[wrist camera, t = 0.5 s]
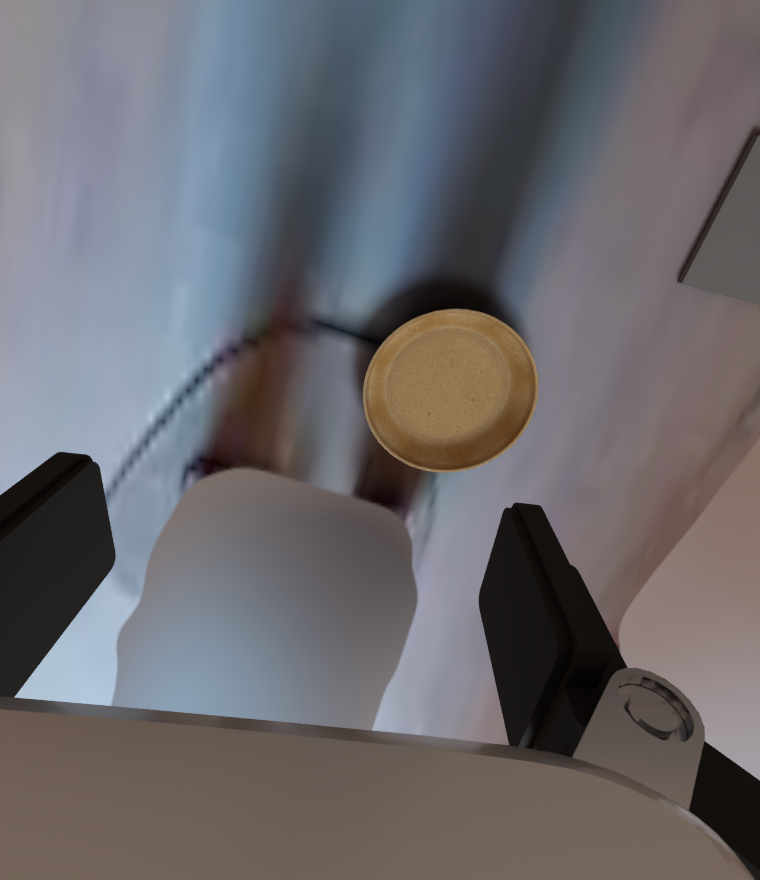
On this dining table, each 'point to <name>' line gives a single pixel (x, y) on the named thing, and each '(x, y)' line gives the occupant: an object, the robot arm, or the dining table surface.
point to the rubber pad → (732, 236)
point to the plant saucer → (450, 390)
